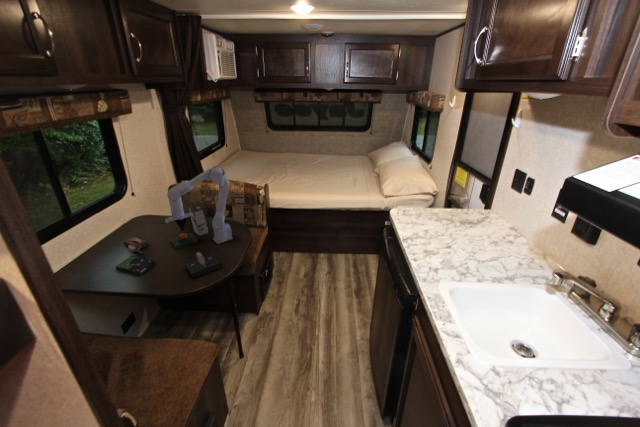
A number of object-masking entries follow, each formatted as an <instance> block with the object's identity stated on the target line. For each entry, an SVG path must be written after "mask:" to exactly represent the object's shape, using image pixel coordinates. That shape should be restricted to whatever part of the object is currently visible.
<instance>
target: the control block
mask: <svg viewBox="0 0 640 427" xmlns="http://www.w3.org/2000/svg"><path fill="white" fill-rule="evenodd" d="M170 242H171V244H172V246H174V248H175V249H176V250H179V249H182V248H186V247H189V246H191V245H192V246H193V245H195V244H198V243H199V239H198V238H197V237H196V236H195V235H194V234H193V232H190V233H187V237H186V238H184V239H181V238H180V236H179V235H178V236H177V237H174V238H171V239H170Z"/></svg>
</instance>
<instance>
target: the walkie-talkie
mask: <svg viewBox="0 0 640 427" xmlns="http://www.w3.org/2000/svg"><path fill="white" fill-rule="evenodd" d="M123 245H125V246H126V247H127V248H128V250H129V251H130V252H132V253H134V252H136V253H138V254H141V255H145V252H143V251H141V250H142V249H144V248H146V247H148V246H149V244H148V241H147V240H144V239H141V238H140V237H136V236H133V237H130V238H128V239H126V240H125V241H124V242H123Z"/></svg>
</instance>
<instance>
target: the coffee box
mask: <svg viewBox="0 0 640 427" xmlns="http://www.w3.org/2000/svg"><path fill="white" fill-rule="evenodd" d="M188 210H189V213H190V212H192V213H193V216H190V218H191V224H192V229H193V232H194V233H195V234H196V235H197V236H198V237H200V236H203V235H207V234H209V228H208V221H207V216H206V210H205V209H204V208H203V207H202V206H201V205H200V204H198V205H194V206H190V207H188Z"/></svg>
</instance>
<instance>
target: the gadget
mask: <svg viewBox="0 0 640 427" xmlns="http://www.w3.org/2000/svg"><path fill="white" fill-rule="evenodd" d="M203 257H204V260H205V264H203V265H201V264H200V262H199V261H198V260H197V259H195V260H193V261H190V262H188V263H185V264H184V266H185V270H186V271H187V272H188V274H189V275H190V277H191V278H192V279H196V278H198V277H201V276H203V275H206V274H209V273H211V272H214V271H216V270H219V269H221V268H222V265H221V262H220V261H219V260H218V259H217V257H215V256H214V254H210V255H207V256H203Z"/></svg>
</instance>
